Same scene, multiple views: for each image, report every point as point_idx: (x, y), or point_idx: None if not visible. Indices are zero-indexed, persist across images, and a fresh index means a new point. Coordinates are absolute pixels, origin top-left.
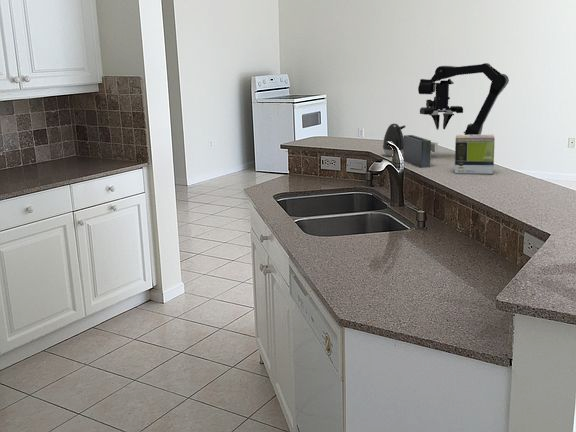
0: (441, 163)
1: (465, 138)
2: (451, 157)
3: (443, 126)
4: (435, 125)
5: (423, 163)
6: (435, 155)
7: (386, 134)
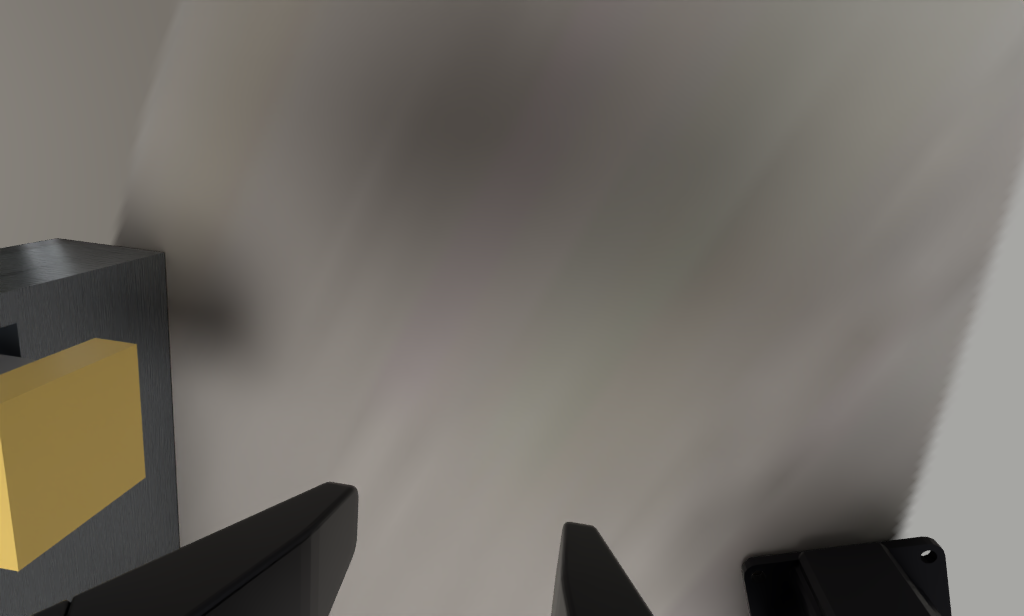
0: (368, 606)
1: None
2: (701, 340)
3: (557, 598)
4: (217, 537)
5: None
6: (602, 82)
7: None
